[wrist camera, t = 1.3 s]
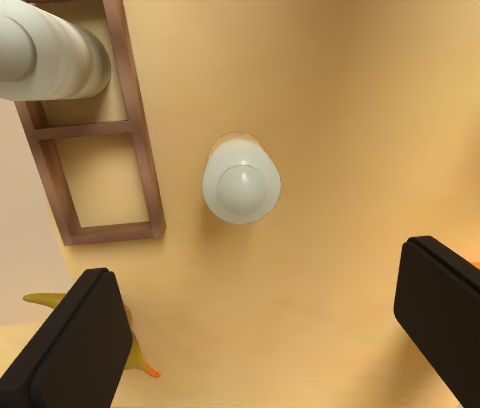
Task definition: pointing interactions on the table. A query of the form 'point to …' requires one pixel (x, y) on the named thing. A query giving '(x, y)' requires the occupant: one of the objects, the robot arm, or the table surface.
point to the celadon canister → (240, 180)
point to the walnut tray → (73, 87)
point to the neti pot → (135, 354)
